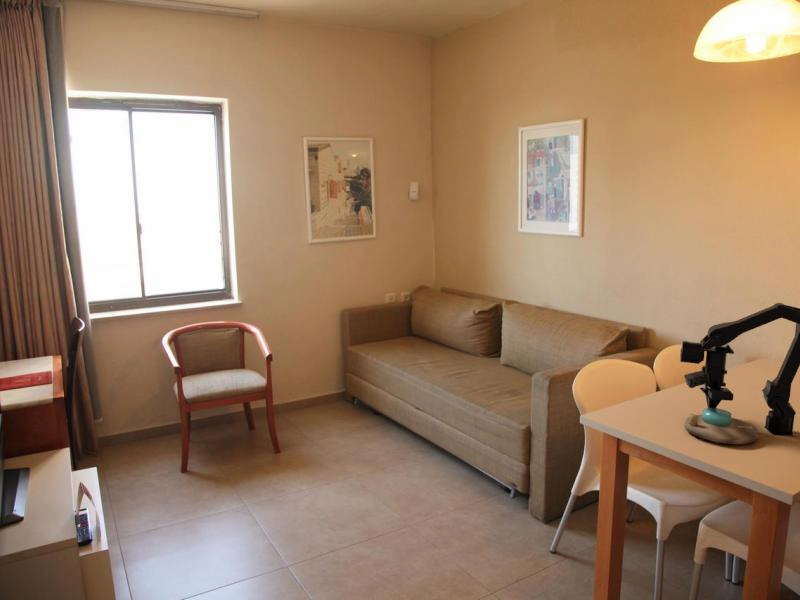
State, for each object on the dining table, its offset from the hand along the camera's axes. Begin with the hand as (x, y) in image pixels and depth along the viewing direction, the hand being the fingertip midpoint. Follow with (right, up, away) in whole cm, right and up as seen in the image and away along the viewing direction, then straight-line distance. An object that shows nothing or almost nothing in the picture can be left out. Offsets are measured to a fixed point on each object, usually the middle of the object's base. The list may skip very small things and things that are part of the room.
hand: (710, 412), depth 201 cm
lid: (-1, -2, -5) cm, 5 cm away
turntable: (-1, -5, -8) cm, 10 cm away
